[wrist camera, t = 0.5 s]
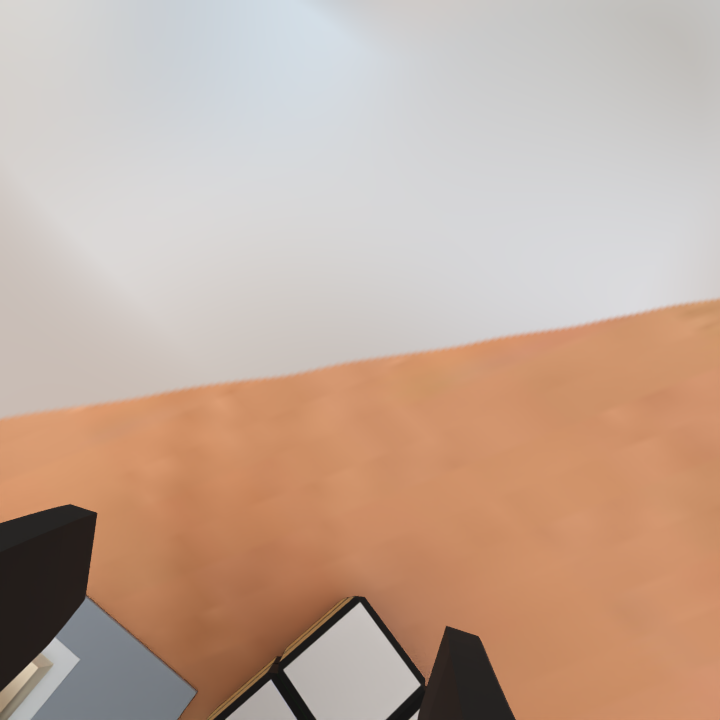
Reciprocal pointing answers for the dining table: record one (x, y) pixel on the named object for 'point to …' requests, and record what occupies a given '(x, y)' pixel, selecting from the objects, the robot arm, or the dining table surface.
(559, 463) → the dining table surface
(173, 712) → the building mat
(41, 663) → the base block
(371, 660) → the puzzle cube
